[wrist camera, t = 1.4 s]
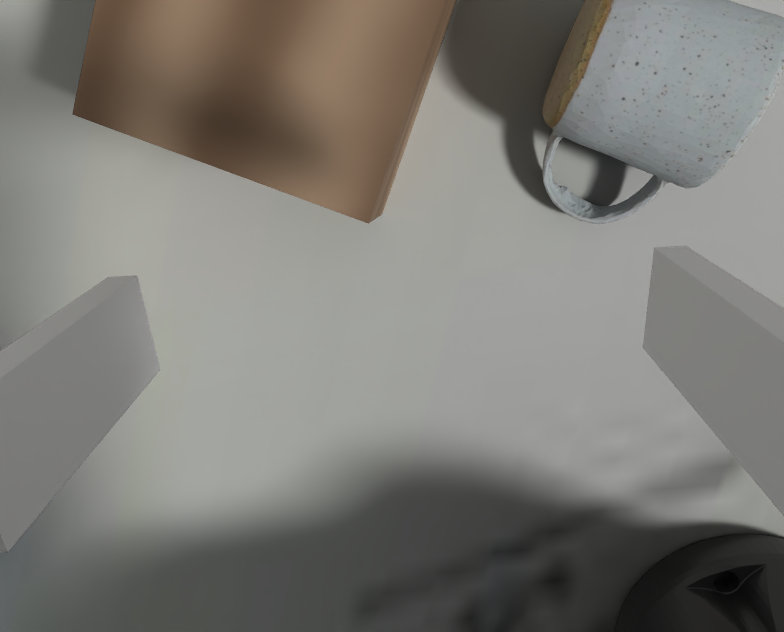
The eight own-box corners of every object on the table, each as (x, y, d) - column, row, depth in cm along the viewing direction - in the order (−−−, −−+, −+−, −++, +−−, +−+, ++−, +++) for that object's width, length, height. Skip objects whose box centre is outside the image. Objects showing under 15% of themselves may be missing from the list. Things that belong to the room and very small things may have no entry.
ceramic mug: (579, -12, 29) (626, -73, 22) (733, 40, 29) (832, -2, 22) (502, 192, 32) (520, 200, 25) (643, 240, 32) (703, 263, 25)
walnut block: (474, -51, 29) (486, -119, 23) (382, 213, 33) (368, 223, 26) (213, -149, 29) (145, -248, 22) (148, 127, 33) (72, 114, 26)
